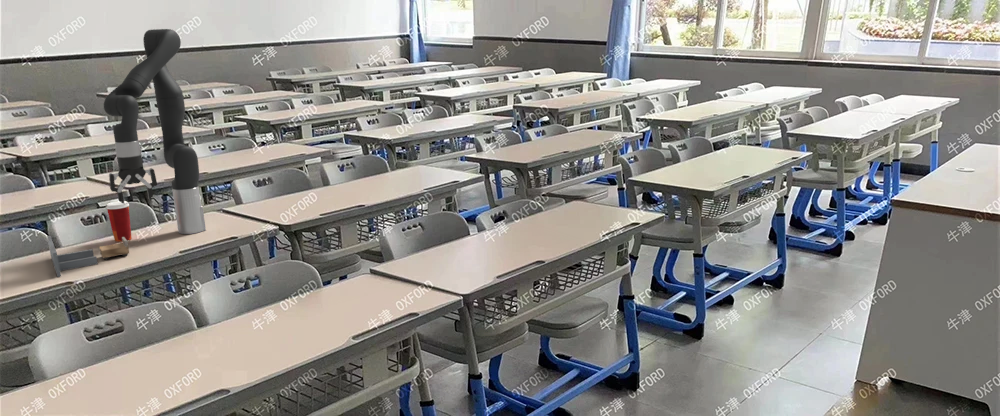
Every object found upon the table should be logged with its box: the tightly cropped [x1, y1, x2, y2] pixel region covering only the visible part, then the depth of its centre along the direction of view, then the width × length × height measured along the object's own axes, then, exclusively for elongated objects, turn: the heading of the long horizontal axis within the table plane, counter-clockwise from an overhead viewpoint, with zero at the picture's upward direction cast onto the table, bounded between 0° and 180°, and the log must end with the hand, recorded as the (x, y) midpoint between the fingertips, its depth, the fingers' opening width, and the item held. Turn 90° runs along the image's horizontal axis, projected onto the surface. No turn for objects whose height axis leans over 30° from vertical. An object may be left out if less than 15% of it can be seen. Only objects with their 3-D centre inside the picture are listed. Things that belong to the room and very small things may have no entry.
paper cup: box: [105, 200, 132, 243], centre depth 261 cm, size 8×8×14 cm
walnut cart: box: [99, 237, 130, 261], centre depth 242 cm, size 8×6×6 cm
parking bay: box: [46, 235, 98, 278], centre depth 235 cm, size 12×24×8 cm, turn 36°
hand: (136, 200), depth 244 cm, fingers open, 8 cm apart
